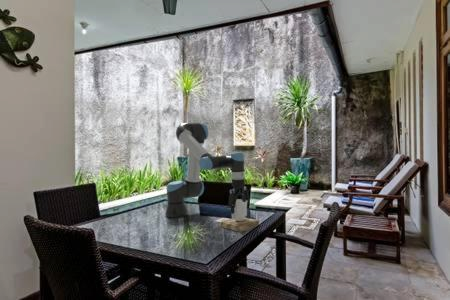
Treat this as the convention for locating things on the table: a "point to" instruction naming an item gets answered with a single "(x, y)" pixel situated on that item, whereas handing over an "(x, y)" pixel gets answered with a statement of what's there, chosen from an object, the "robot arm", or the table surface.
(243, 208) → the cup
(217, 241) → the table surface
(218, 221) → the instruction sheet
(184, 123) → the robot arm
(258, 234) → the table surface
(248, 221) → the plinth block
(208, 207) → the table surface
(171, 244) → the table surface
